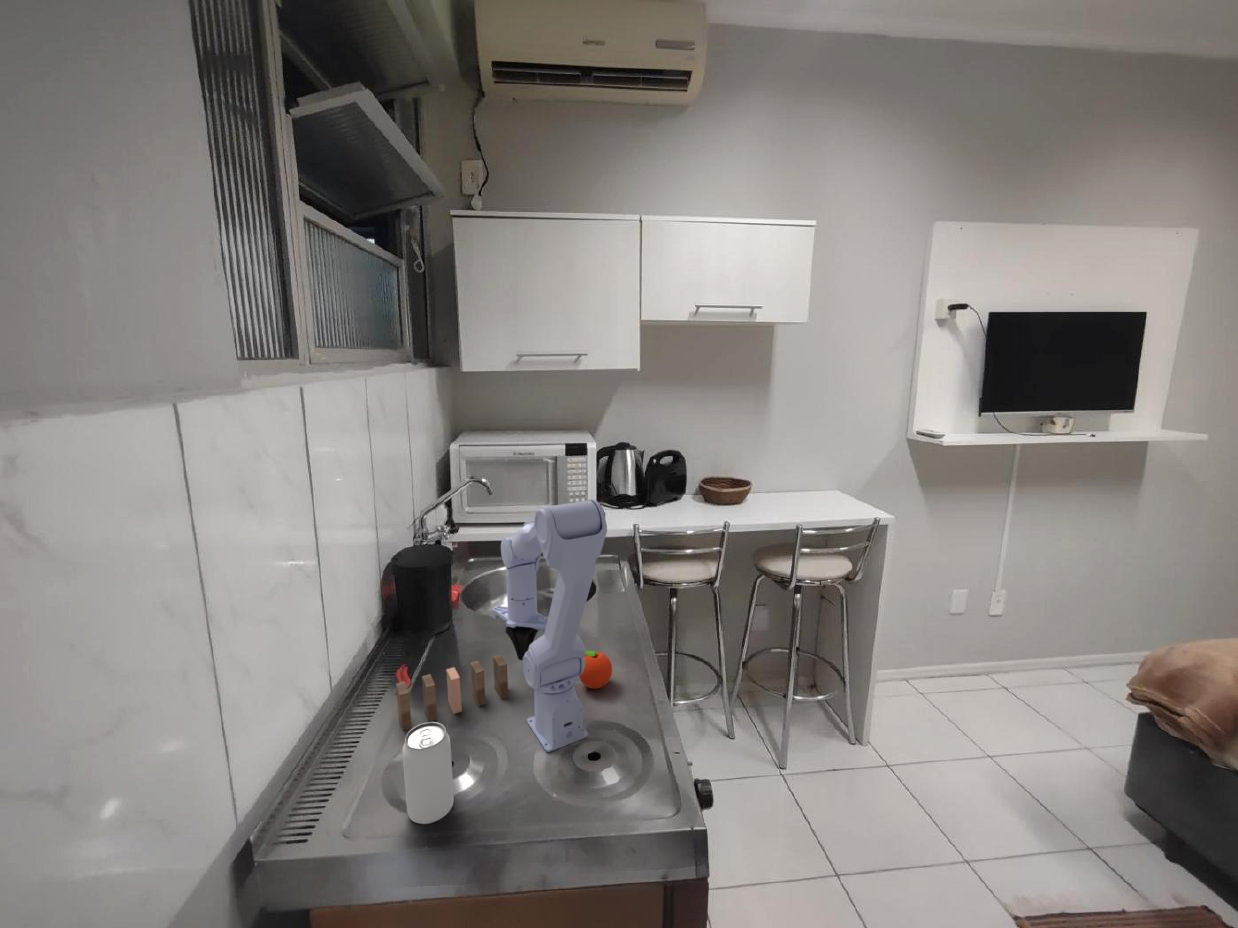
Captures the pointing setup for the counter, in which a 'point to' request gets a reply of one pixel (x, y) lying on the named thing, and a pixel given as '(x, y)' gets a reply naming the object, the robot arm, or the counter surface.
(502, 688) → the domino
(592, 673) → the clementine
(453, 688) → the domino
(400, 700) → the domino
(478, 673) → the domino
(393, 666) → the counter surface
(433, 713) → the domino
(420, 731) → the can
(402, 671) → the cayenne pepper
